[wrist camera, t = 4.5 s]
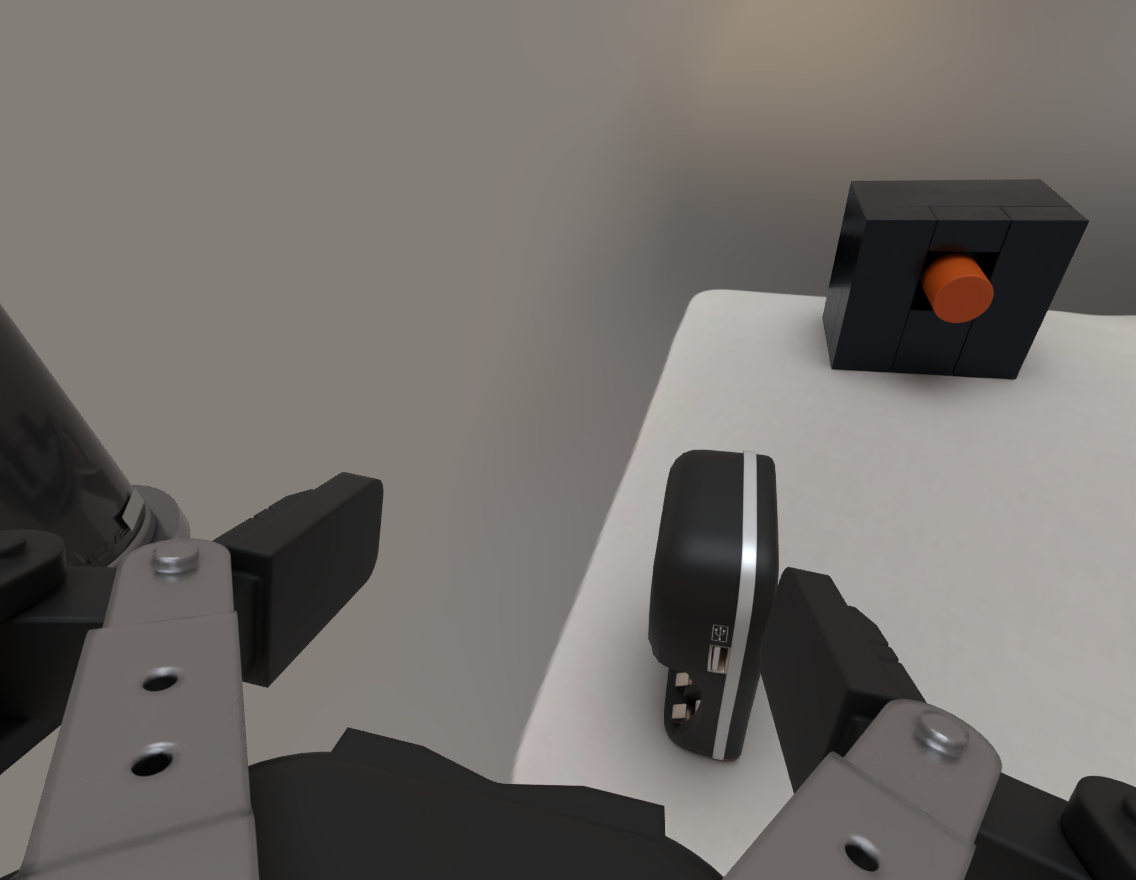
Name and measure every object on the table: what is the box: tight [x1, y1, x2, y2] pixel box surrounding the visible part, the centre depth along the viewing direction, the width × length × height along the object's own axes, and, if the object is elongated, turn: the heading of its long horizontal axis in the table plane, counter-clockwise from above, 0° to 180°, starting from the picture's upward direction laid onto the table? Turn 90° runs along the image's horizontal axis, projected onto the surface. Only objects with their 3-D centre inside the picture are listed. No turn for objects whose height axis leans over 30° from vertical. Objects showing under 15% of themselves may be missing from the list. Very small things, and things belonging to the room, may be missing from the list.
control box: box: [822, 179, 1089, 379], centre depth 43 cm, size 8×12×11 cm, turn 77°
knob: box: [922, 253, 994, 323], centre depth 38 cm, size 4×3×3 cm
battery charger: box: [648, 450, 779, 760], centre depth 23 cm, size 7×4×11 cm, turn 167°
